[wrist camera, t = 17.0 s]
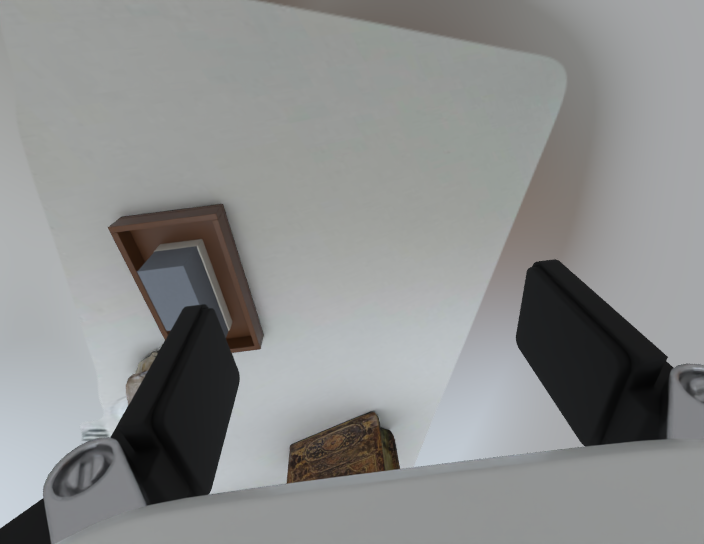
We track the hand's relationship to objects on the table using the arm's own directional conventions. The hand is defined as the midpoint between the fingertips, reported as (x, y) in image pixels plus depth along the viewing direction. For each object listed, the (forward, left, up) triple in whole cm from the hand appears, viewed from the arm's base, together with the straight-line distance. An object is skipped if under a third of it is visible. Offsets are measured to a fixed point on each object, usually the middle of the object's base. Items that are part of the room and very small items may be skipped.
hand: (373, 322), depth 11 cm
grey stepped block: (+13, -17, -26) cm, 34 cm away
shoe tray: (+13, -17, -26) cm, 34 cm away
